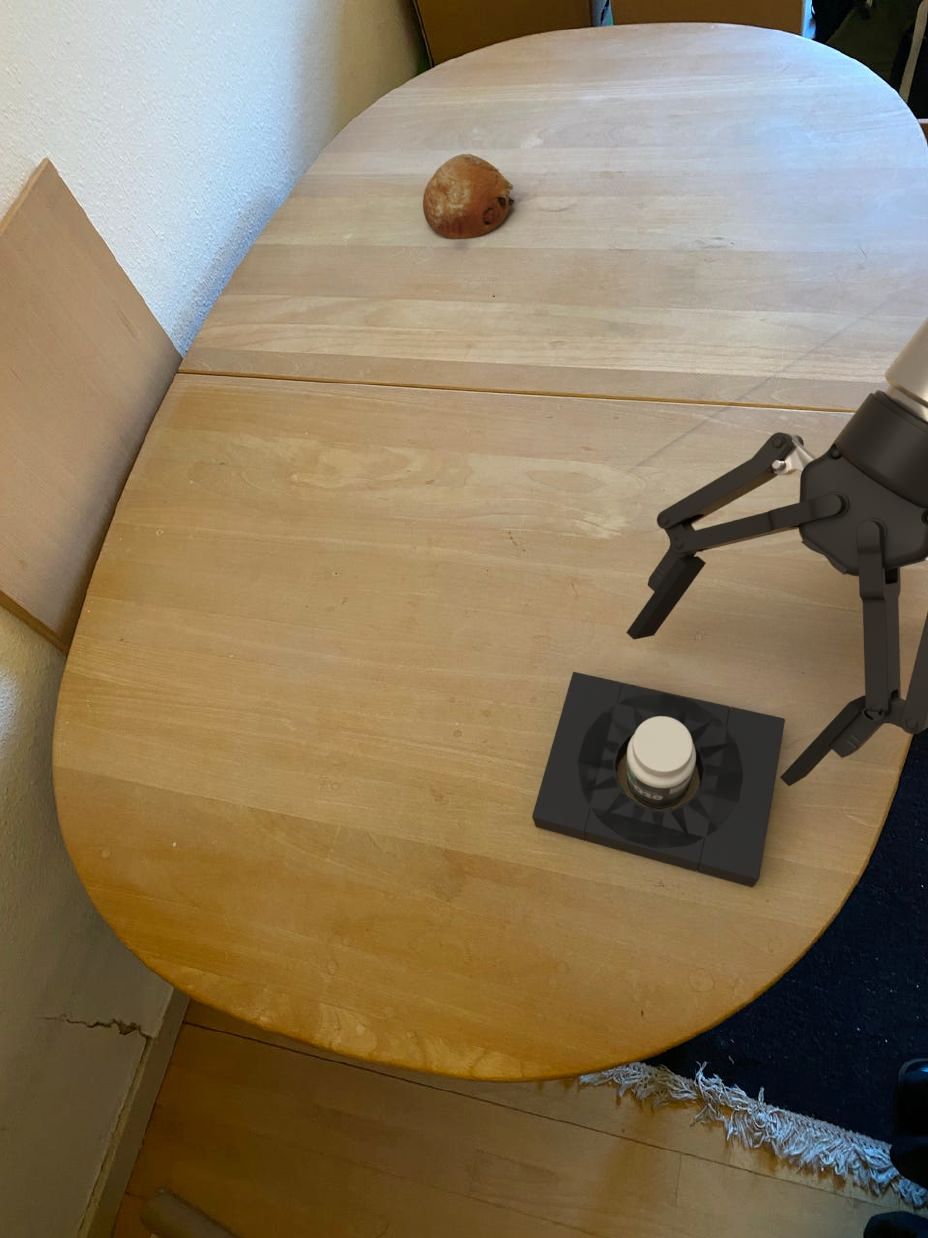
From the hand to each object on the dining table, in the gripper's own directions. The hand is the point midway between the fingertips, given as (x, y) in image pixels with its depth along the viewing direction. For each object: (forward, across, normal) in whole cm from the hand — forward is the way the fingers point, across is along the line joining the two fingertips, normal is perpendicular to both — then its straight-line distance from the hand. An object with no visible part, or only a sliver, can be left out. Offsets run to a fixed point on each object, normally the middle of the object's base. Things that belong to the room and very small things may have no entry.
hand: (711, 701), depth 55 cm
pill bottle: (+10, +1, -5) cm, 11 cm away
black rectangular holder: (+10, +1, -5) cm, 11 cm away
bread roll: (-12, +65, -26) cm, 71 cm away
